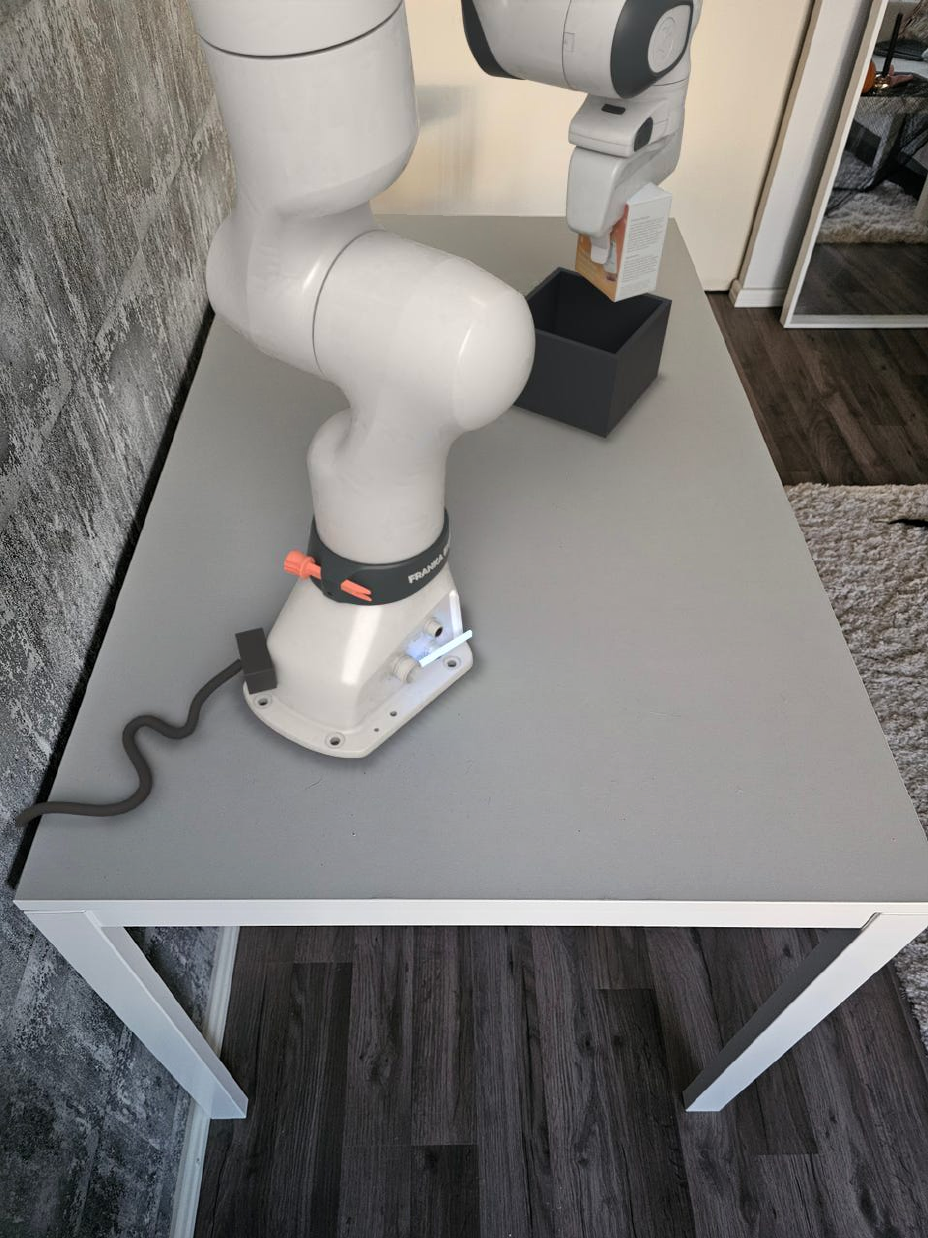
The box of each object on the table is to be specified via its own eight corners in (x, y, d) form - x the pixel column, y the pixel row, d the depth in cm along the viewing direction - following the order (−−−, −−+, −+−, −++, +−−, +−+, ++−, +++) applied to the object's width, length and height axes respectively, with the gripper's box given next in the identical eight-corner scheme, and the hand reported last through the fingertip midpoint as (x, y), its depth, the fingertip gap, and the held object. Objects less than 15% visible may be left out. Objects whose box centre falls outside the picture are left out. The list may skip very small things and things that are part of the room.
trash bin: (605, 438, 110) (618, 359, 102) (494, 397, 115) (497, 319, 107) (657, 376, 119) (672, 299, 111) (551, 342, 124) (558, 266, 116)
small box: (573, 270, 102) (583, 173, 94) (614, 259, 103) (627, 163, 96) (614, 303, 97) (628, 204, 89) (656, 291, 99) (674, 193, 91)
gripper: (651, 65, 94) (631, 200, 104) (559, 130, 82) (547, 274, 93) (709, 77, 92) (683, 214, 102) (623, 145, 80) (603, 291, 90)
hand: (618, 243), depth 97 cm, fingers closed on small box, 7 cm apart
